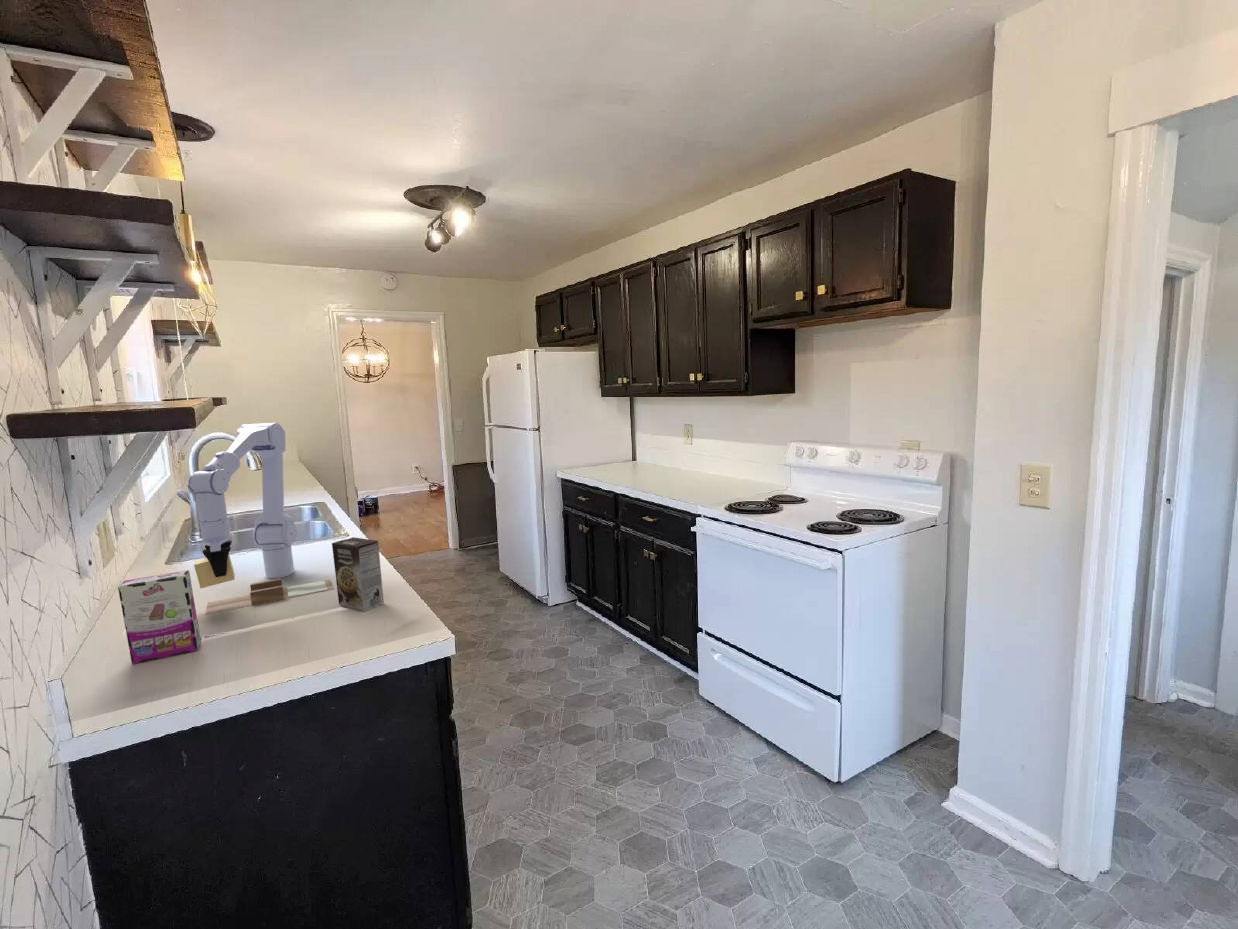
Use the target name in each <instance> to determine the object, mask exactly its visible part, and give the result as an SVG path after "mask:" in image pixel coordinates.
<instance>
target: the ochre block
mask: <svg viewBox="0 0 1238 929" xmlns="http://www.w3.org/2000/svg"><path fill="white" fill-rule="evenodd" d="M193 566H194V570H195V573H196V574H195V575H196V577H197V581H198V584H199V587H200V588H199V589H203V588H204V589H205V588H209V587H211V586H212V587H213V586H215V585H220V584H224V583H227V582H231V581H234V580H235V575H236V573H235V571H234V567H233V564H232V559H231V556H230V553H229V554H228V558H227V572H226V576H221V577H216V576H215V574H214V572H213V569H212V567H211V564H210V562H209V561H208V559H207V558H206V557H205V558H200V559H196V560H195V561H194V564H193Z"/></svg>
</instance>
